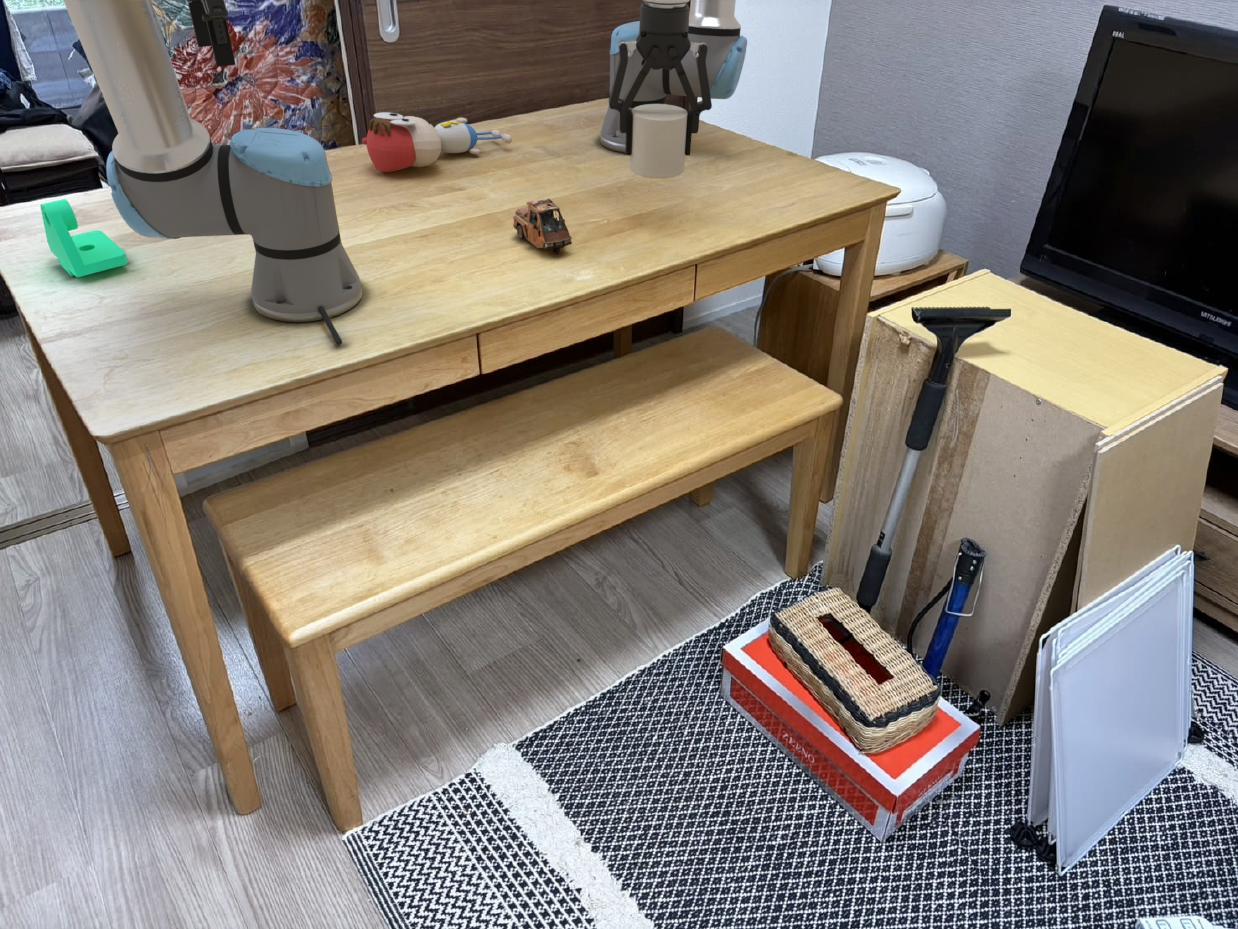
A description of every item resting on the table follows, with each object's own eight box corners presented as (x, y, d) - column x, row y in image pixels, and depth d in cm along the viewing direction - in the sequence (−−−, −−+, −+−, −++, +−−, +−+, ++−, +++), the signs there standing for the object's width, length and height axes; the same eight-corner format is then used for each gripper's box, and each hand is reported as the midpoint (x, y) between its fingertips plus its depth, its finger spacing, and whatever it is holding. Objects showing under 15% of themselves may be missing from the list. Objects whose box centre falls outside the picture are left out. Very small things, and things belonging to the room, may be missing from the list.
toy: (528, 119, 180) (378, 122, 165) (527, 172, 185) (381, 180, 170) (487, 104, 193) (345, 105, 178) (486, 154, 198) (348, 160, 183)
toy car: (537, 226, 158) (536, 186, 154) (580, 250, 150) (580, 209, 146) (506, 235, 154) (504, 194, 150) (548, 260, 147) (547, 218, 143)
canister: (660, 156, 160) (663, 100, 154) (694, 172, 154) (699, 114, 148) (618, 166, 155) (620, 109, 149) (652, 182, 149) (655, 123, 144)
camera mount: (132, 270, 140) (111, 204, 134) (79, 284, 136) (55, 217, 130) (104, 244, 147) (84, 181, 141) (53, 257, 143) (29, 192, 137)
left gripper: (228, -92, 127) (260, 71, 140) (191, -111, 144) (223, 36, 157) (169, -90, 124) (208, 76, 136) (139, -110, 141) (176, 40, 153)
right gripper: (593, 6, 136) (592, 159, 149) (740, 9, 137) (726, 160, 150) (592, -4, 142) (590, 144, 155) (732, -1, 143) (719, 145, 156)
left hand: (216, 55), depth 147 cm, fingers open, 13 cm apart
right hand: (657, 152), depth 153 cm, fingers closed on canister, 9 cm apart
